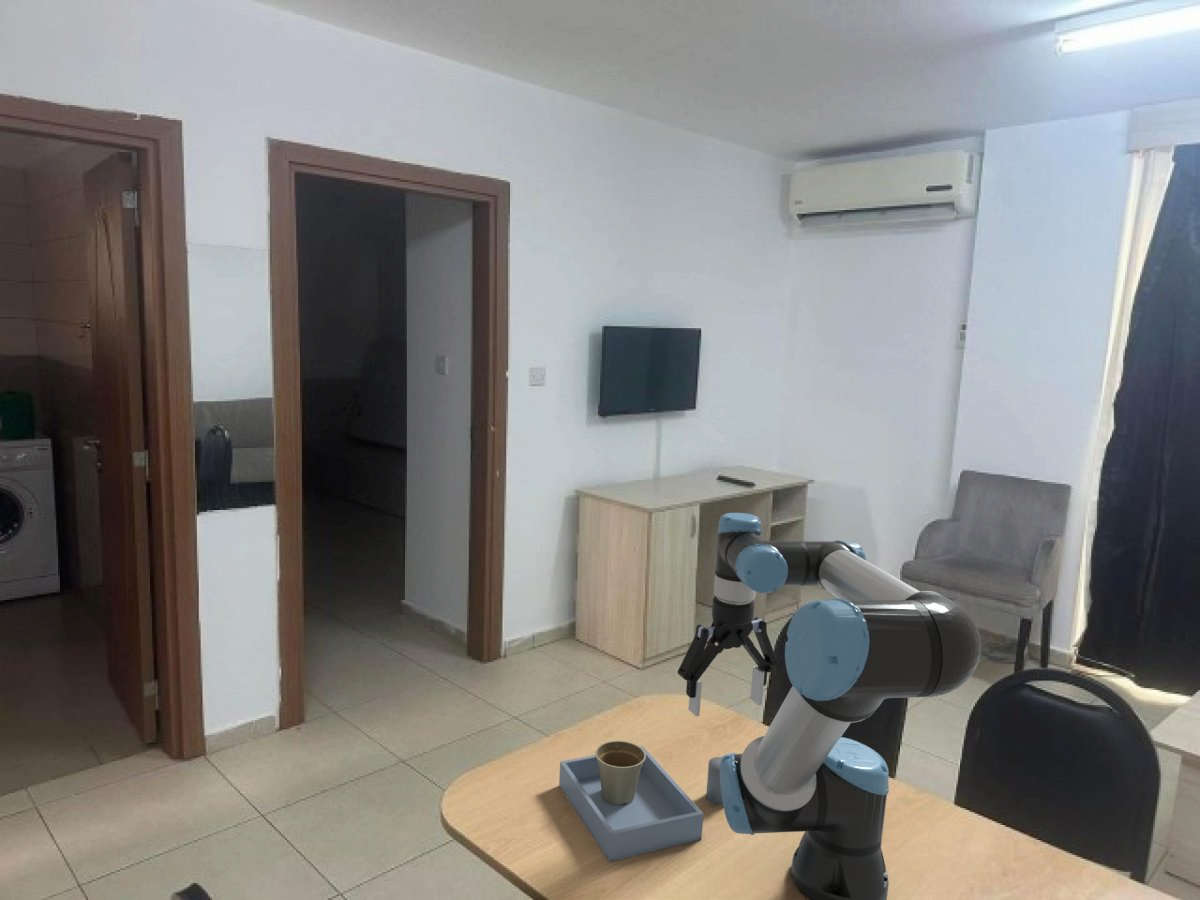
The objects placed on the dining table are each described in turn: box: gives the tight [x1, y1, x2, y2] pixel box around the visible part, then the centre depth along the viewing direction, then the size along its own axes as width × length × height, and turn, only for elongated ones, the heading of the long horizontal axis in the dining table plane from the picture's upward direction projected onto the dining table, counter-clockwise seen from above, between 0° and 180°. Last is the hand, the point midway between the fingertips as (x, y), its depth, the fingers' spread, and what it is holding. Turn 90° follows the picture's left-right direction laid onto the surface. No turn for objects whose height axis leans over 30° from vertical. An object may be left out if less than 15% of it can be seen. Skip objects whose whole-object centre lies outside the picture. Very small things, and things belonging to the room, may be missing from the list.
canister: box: [705, 756, 724, 807], centre depth 156 cm, size 5×5×7 cm
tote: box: [558, 746, 704, 862], centre depth 150 cm, size 24×18×5 cm
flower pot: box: [594, 740, 646, 805], centre depth 154 cm, size 9×9×9 cm
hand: (725, 707), depth 153 cm, fingers open, 13 cm apart
